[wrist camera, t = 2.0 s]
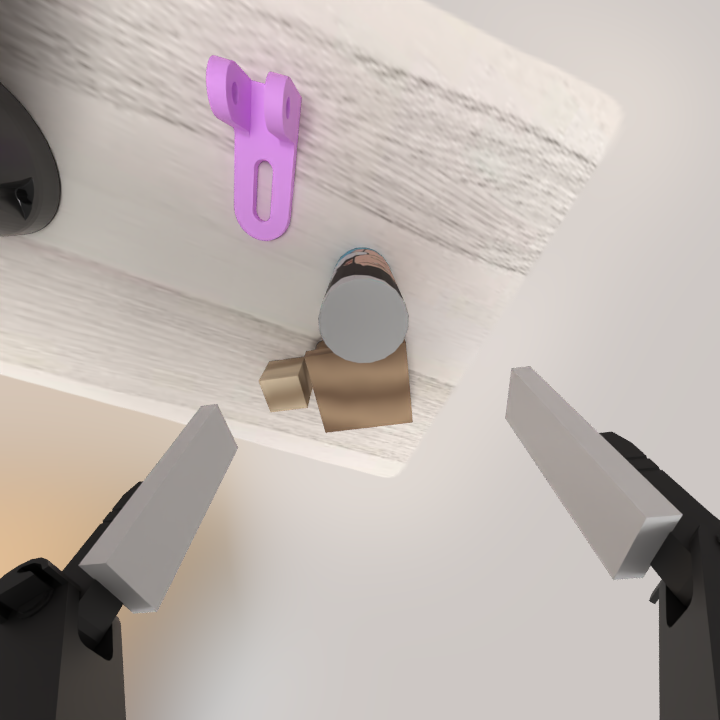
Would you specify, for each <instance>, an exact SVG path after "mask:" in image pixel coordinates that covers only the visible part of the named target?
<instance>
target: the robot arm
mask: <svg viewBox="0 0 720 720" xmlns="http://www.w3.org/2000/svg"><path fill="white" fill-rule="evenodd" d="M59 197H60V185H59V177H58V172H57V169H56V165H55V162H54V159H53V156H52V154H51V151H50V149H49V147H48V145H47V143H46V141H45V139H44V137H43V135H42V133H41V132H40V130H39V128H38V127H37V125H36V124H35V122H34V121H33V119H32V118H31V116H30V115H29V114H28V113H27V111H26V110H25V109H24V107H23V106H22V105H21V104H20V103H19V102H18V100H17V99H16V98H15V97H14V96H13V95H12V94H11V93H10V92H9V91H8V90H7V89H6V88H5V87H4V86H3V85H2V84H1V83H0V236H13V235H23V234H29V233H33V232H36V231H38V230H40V229H42V228H43V227H45V226H46V225H47V224H48V223H49V222H50V221H51V220H52V218H53V217H54V215H55V213H56V211H57V207H58V204H59ZM505 418H506V420H507V422H508V423H509V424H510V426H511V427H512V429H513V430H514V432H515V433H516V435H517V436H518V438H519V439H520V441H521V442H522V444H523V445H524V447H525V448H526V450H527V451H528V453H529V454H530V456H531V457H532V459H533V460H534V462H535V463H536V465H537V466H538V468H539V469H540V471H541V472H542V474H543V475H544V477H545V478H546V480H547V481H548V483H549V484H550V486H551V487H552V489H553V490H554V492H555V493H556V495H557V496H558V498H559V499H560V501H561V502H562V504H563V505H564V507H565V508H566V510H567V511H568V513H569V514H570V516H571V517H572V519H573V520H574V522H575V523H576V525H577V526H578V528H579V529H580V531H581V532H582V534H583V535H584V536H585V538H586V540H587V541H588V543H589V544H590V546H591V547H592V549H593V550H594V552H595V553H596V554H597V556H598V557H599V559H600V560H601V562H602V564H603V565H604V567H605V568H606V569H607V571H608V573H609V574H610V576H611V577H612V579H614V580H615V579H628V578H643V577H644V575H645V573H646V572H647V571H648V569H649V567H650V566H652V567H653V569H654V570H655V571H656V572H657V574H658V575H659V576H660V577H661V579H662V580H661V581H660V583H659V584H658V586H657V587H656V588H655V590H654V591H653V593H652V595H651V597H650V600H649V601H650V602H652V603H654V604H655V603H656V602H657V601H658V599H659V681H660V682H659V684H660V685H659V686H660V688H659V689H660V690H659V692H660V720H720V520H719V519H717V518H716V517H715V516H713V515H712V514H711V513H710V512H709V511H708V510H707V509H706V508H704V507H703V506H702V505H701V504H700V503H699V502H698V501H696V500H695V499H694V498H693V497H692V496H691V495H690V494H689V493H688V492H686V491H685V490H684V489H683V488H682V487H681V486H680V485H678V484H677V483H676V482H675V481H674V480H673V479H672V478H670V476H668V475H667V474H666V473H665V472H664V471H663V470H660V469H659V467H658V466H657V465H656V464H655V463H654V462H653V461H652V460H650V459H647V457H646V455H644V454H643V452H641V451H640V450H639V449H638V448H637V447H636V446H635V445H634V444H632V443H631V442H629V441H628V440H626V439H624V438H622V437H621V436H618V435H617V434H615V433H613V432H605V433H598V432H597V431H596V430H595V429H594V428H593V427H592V426H591V425H590V424H589V423H588V422H587V421H586V420H585V419H584V418H583V417H582V416H581V415H580V414H579V413H577V411H576V410H575V409H573V408H572V407H571V406H570V405H569V404H568V403H567V402H566V401H565V400H564V399H563V398H562V397H561V396H560V395H559V394H558V393H557V392H556V391H555V390H554V389H553V388H552V387H551V386H550V385H549V384H548V383H547V382H545V380H544V379H543V378H542V377H541V376H539V374H537V373H536V372H535V371H534V370H533V369H532V368H531V367H530V366H528V367H519V368H512V369H511V377H510V385H509V393H508V401H507V409H506V417H505ZM237 449H238V446H237V444H236V442H235V440H234V438H233V436H232V434H231V432H230V430H229V428H228V425H227V423H226V421H225V419H224V417H223V415H222V413H221V411H220V409H219V407H218V405H217V404H214V405H206V406H201V407H200V409H199V410H198V411H197V412H196V414H195V415H194V416H193V418H192V419H191V420H190V421H189V423H188V424H187V425H186V427H185V428H184V429H183V431H182V432H181V433H180V434H179V436H178V437H177V438H176V440H175V441H174V442H173V443H172V445H171V446H170V448H169V449H168V450H167V452H166V453H165V454H164V455H163V457H162V458H161V459H160V460H159V462H158V463H157V464H156V466H155V467H154V468H153V469H152V471H151V472H150V474H149V475H148V476H147V477H146V479H145V480H144V481H142V482H138V483H137V484H136V485H135V486H133V487H132V488H131V489H130V490H129V491H128V492H126V493H125V494H124V495H123V496H122V498H121V499H120V500H119V502H118V503H117V504H116V505H115V506H114V508H113V510H112V512H109V514H108V515H107V516H106V517H105V519H104V520H103V523H102V524H100V525H99V526H98V527H97V529H96V530H95V531H94V533H93V534H92V535H91V536H90V537H89V539H88V540H87V541H86V542H85V544H84V545H83V546H82V547H81V549H80V550H79V551H78V553H77V554H76V555H75V556H74V557H73V559H72V560H71V561H70V562H69V564H68V565H67V566H66V567H65V568H64V570H63V571H60V570H59V569H58V568H57V567H56V566H55V565H53V564H52V563H51V562H50V561H48V560H47V559H44V558H36V559H31V560H30V561H27V562H25V563H23V564H21V565H19V566H18V567H16V568H14V569H13V570H11V571H10V572H8V573H7V574H5V575H4V576H3V577H2V578H1V579H0V720H126V712H125V694H124V675H123V657H122V638H121V623H120V621H119V618H118V617H117V616H116V615H117V614H118V612H119V610H120V609H121V607H122V605H124V606H126V607H127V608H128V609H129V610H130V611H131V612H132V613H146V612H157V611H158V609H159V607H160V605H161V603H162V601H163V599H164V597H165V595H166V593H167V591H168V589H169V587H170V585H171V583H172V581H173V579H174V577H175V574H176V572H177V570H178V568H179V566H180V564H181V562H182V560H183V558H184V556H185V554H186V552H187V550H188V548H189V546H190V544H191V542H192V540H193V538H194V536H195V534H196V532H197V530H198V528H199V526H200V524H201V522H202V520H203V518H204V516H205V514H206V511H207V510H208V508H209V506H210V504H211V501H212V500H213V498H214V495H215V493H216V491H217V489H218V487H219V485H220V483H221V481H222V479H223V477H224V475H225V473H226V471H227V469H228V467H229V465H230V463H231V461H232V459H233V457H234V455H235V453H236V451H237Z"/></svg>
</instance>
